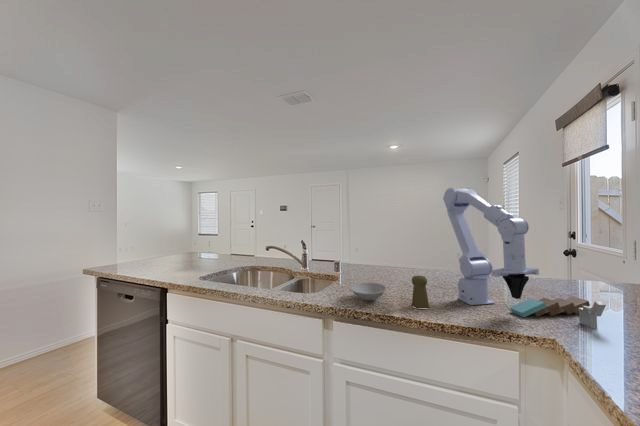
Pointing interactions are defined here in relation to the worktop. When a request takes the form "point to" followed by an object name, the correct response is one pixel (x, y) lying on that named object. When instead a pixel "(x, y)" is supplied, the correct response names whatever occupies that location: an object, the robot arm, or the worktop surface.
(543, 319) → the worktop surface
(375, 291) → the dish
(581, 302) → the walnut domino
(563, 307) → the walnut domino
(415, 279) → the olive upright piece
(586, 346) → the worktop surface
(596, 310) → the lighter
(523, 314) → the teal domino
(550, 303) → the walnut domino
